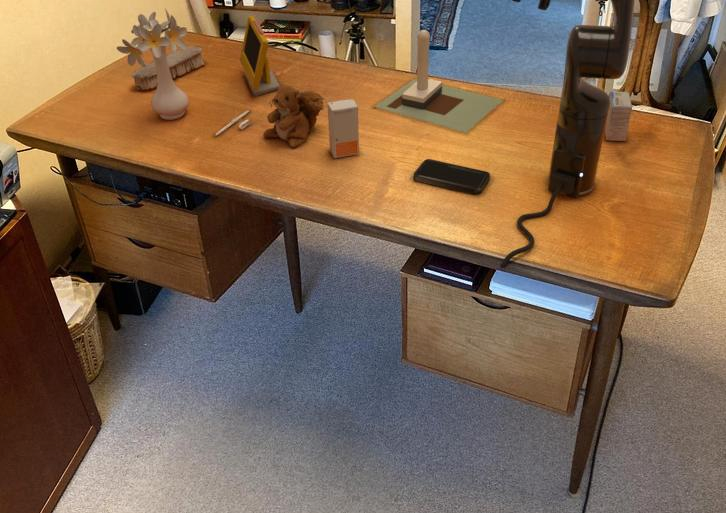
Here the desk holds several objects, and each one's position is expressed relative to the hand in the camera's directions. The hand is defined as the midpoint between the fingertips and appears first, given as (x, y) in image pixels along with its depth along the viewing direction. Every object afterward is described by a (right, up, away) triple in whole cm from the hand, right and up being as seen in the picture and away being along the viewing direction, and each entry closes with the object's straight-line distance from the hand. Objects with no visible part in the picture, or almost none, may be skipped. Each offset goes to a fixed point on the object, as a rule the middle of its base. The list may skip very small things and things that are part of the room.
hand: (528, 5), depth 159 cm
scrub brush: (-22, -16, +21) cm, 35 cm away
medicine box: (+21, -28, +4) cm, 35 cm away
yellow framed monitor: (-65, -10, +32) cm, 73 cm away
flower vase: (-85, -21, +19) cm, 90 cm away
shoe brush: (-91, -6, +38) cm, 99 cm away
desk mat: (-18, -18, +18) cm, 32 cm away
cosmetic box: (-42, -33, +1) cm, 53 cm away
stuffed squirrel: (-53, -28, +9) cm, 61 cm away
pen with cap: (-68, -25, +13) cm, 73 cm away
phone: (-19, -40, -9) cm, 45 cm away
